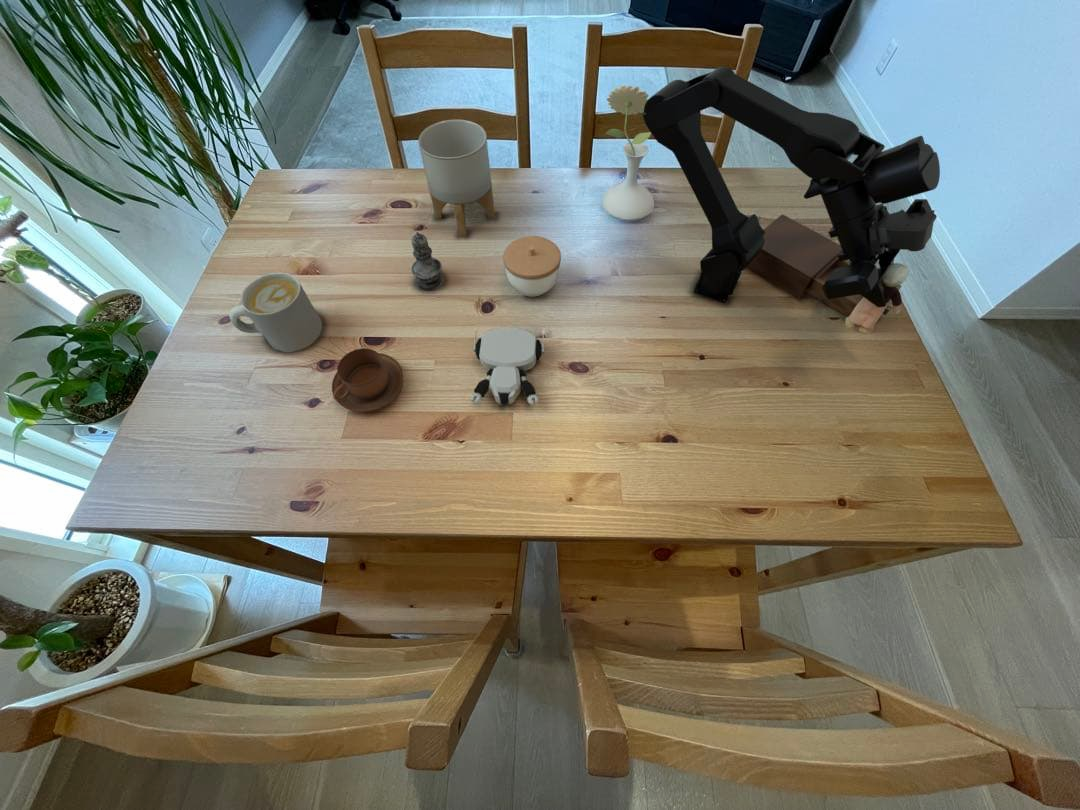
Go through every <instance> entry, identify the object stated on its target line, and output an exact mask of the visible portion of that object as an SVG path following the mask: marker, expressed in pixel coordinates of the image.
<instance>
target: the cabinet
mask: <svg viewBox="0 0 1080 810" xmlns="http://www.w3.org/2000/svg"><path fill="white" fill-rule="evenodd" d="M762 229H763V230H764V231H765V232H766V233H765V234H764V235H763V236H764V245H763V247H762V250H761V251H760V252H759V253H758V254H757V255H756V257H755V258H754V259H753V260H752V261H751V262H750V264H749V265H748V266H747V267H746V268H745V269H748V270H750V271H752V272H753V273H755V274H756V275H758V276H759V277H761V278H763V279H764V280H766V281H768V282H769V283H771V284H772V285H775V287H778V288H780V289H781V290H783V291H784V292H786V293H788V294H789V295H791V296H793V297H795V298H796V299H798V300H800V299H801V298H802V297H803V296H804V295H805V294H807V292H806V291H805V289H806V288H807V286H808V284H809V283H810V281H811V279H812V278H813V277H814V276H815V275H816V274H817V273H819V272H820V271H821V270H822V269H823V268H824V267H825V266H826V265H827V264H828V263H829V262H831V261H832V260H833V259H834V258H835V257H836V256H837V255H839V254H840V252H841V251H842V248H841V246H840V243H837V242H835V241H834V240H831V238H828V237H826V236H824V235H822V234H821V233H818V232H816V231H815V230H814V229H811V228H809V227H807V226H805V225H803V224H802V223H800V222H798V221H797V220H794V219H793V218H791V217H788V216H787V215H785V214H780V216H777V218H776V219H774V221H772V222H771V223H769V225H767V226H766V227H765V228H762Z"/></svg>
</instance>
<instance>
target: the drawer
mask: <svg viewBox="0 0 1080 810" xmlns="http://www.w3.org/2000/svg"><path fill="white" fill-rule="evenodd" d="M850 262H851V261H850V260H845V261H841V262H840V260H839V258H838V255H837V256H836V257H835V258H834V259H833V260H832V261H831V262H829V263H828V264H827V265H826V266H825V267H824V268H823V269H822V270H821V271H820V272H819V273H817V274H816V275H815V276H814V277H813V278H812V279H811V281H810V283H809V284H808V286H807V288H806V289H805V291H806V293H808V294H810V296H812V297H814V298H815V299H818V300H819V301H821V302H823V303H824V304H826V305H828V306H830V307H831V308H833V309H835V310H836V311H838V312H840V313H842V314H843V315H845V316H846V317H848V316H850V315H851V313H852V311H853V310H854V308H855V307H856V306H857V304H858V303H859V302H860V301H861V299H862V298H863V296H862V295H860V294H858V295H852V296H846V297H840V298H834V299H827V298H826V296H825V294H824V291H823V289H822V287H823V285H824V284H825V282H826V280H827V279H828V278H829V276H830V275H831V274H832V272H833V271H834V269H835V268H840V267H845V266H848V265H849V263H850ZM895 287H896V288H897V289H898V290H899V291H900V289H901V288H902V284H899V285H897V286H895ZM890 302H891V299H890V300H889V301H888V303H890ZM891 309H893V306H890V305H889V304H887V307H886V308H885V310H884V312H883V313H882V315H884V316H886V315H887V314H888V313H889V312H890V311H891ZM860 326H861V325H857V326H856V328H859V327H860Z"/></svg>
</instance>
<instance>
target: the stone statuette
mask: <svg viewBox="0 0 1080 810" xmlns="http://www.w3.org/2000/svg"><path fill="white" fill-rule="evenodd" d="M411 245H412V248H413V251H412V255H413V257H414V258H415V262H413V264H412V265H411V269H410V270H411V273H412V275H413V276H414V277H415V278H416V286H417V287H418V288H419V289H421V290H422V291H426V292H432V291H435V290H438V289H439V288H440V287H442V285H443V284H444V277H443V275H442V274H441V273H442V269H443V266H442V263H441V261H440V260H439V259H437V258H436V257H433V256H432V253H433V249H432V248H431V247H430V246H429V242H428V238H427V236H426V235H425V234H423V233H420V232H419V231H416V232H415V234H414V235H413V236H412V238H411Z"/></svg>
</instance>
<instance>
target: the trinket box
mask: <svg viewBox="0 0 1080 810" xmlns="http://www.w3.org/2000/svg"><path fill="white" fill-rule="evenodd" d="M502 260H503V266H504V272H505V275H506V278H507V280H508V283H509V284H510V285H511V287H513V289H514V290H515V291H516V292H518V293H520V294H522V295H523V296H525V297H530V298H533V297H535V298H536V297H540V296H542V295H544V294H545V293H547V292H549V290H551V289H552V288H553V287H554V285H555V284H556V283H557V280H558V278H559V274H560V269H561V261H562V253H561V250H560V248H559V247H558V245H557V244H556V243H555V242H554V241H552V240H550V239H548V238H546V237H544V236H537V235H528V236H522V237H519V238H516V239H515V240H513V241H511V242H510V243H508V245H507V246H506V248H505V249H504V251H503V255H502Z"/></svg>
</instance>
